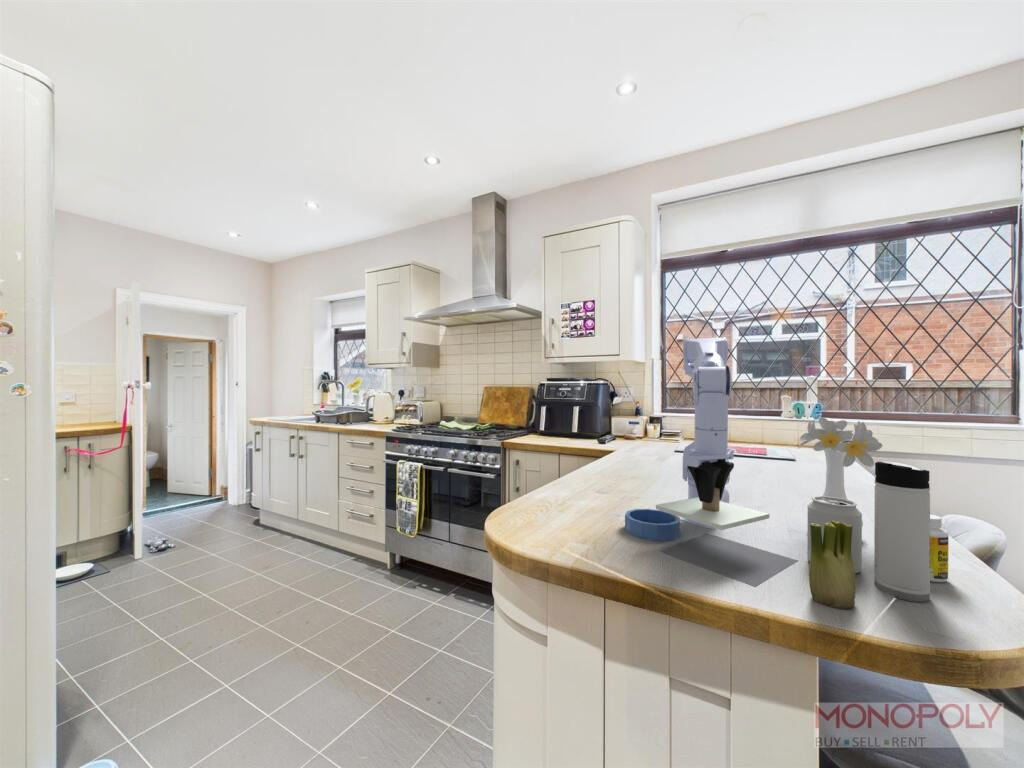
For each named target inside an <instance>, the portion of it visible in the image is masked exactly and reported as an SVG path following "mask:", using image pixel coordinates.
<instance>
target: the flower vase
mask: <svg viewBox="0 0 1024 768" xmlns="http://www.w3.org/2000/svg"><path fill="white" fill-rule="evenodd" d="M818 423H819V426H820V427H816V421H815V418H814V419H813V421H812V420H809V421H808V424H807V428H806V429H807V432H805V433H803V434H802V435H800V438H799V441H800V442H801V443H800V444H798V447H797V448H796V449H801V447H803V446H804V445H807V444H808V443H810V442H812V441H814V440H819V441H817V442H816V443H815V444H814V445H813V450H814V452H815V451H816V452H822V451H823V452H824V455H825V461H826V475H825V477H826V478H825V488H824V492H823V495H822V496H827V497H836V498H842V499H846V500H849V499H848V496H847V492H846V488H845V487H846V486H845V468H848V467H850V466H852V465H853V464H855V461H856V460H858V461H859V462H860V463H861V464H862V465H864V466H866V467H873V466H875V461H874V458H873V457H872V456H871V454H873V455H875V456H876V458H879V457H880V455H879V453H878V451H879V450H880V449H882V448H883V443H881V442H879V440H878V439H877V438H876V437H874V436H873V430H871V429H868V428H867V426H866V423H865V422H864V421H862V422H860V421H859V420H857V423H854V424H853V427H854V429H848V430H845V429H846V427H847V426H848V422H847V421H846V420H844V419H843V420H842V419H841V420H838V421H836V422H834V421H833V420H828V419H827V418H826V417H823V416H821V417H819V418H818ZM853 432H854V433H853ZM869 453H871V454H869ZM863 526H864V521H863V519H862V528H863Z"/></svg>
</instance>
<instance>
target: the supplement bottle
mask: <svg viewBox="0 0 1024 768" xmlns="http://www.w3.org/2000/svg"><path fill="white" fill-rule="evenodd" d="M948 580H949V532H948V531H947V530H946V529H944V528H943V522H942V517H941V516H940V515H939V516H938V515H935V514H931V513H930V581H931V582H930V583H945V582H947V581H948Z"/></svg>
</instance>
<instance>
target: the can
mask: <svg viewBox="0 0 1024 768" xmlns="http://www.w3.org/2000/svg"><path fill="white" fill-rule="evenodd" d="M811 500H812V501H811V502H810V503H809V504H807V540H806V541H807V548H806V549H807V552H806V553H807V555H806V556H807V560H808V561H809V562H810V558H811V530H810V524H811V523H816V524H819V525H821V534H822V545H823V535H824V526H825V523H831V521H837V522H840V524H841V523H846V524H849V525H852V526H853V528H852V539H851V556H852V561H853V566H854V571H855V575H856V574H858V573H860V572H862V569H863V562H862V561H863V558H862V557H863V549H862V548H863V547H862V545H863V543H862V542H863V539H862V538H863V535H862V534H863V527H862V520H863V513H862V512H861V511H860V510H859V509H858V508H857V506H858V504H857V502H854V501H853V500H850V499H848V500H846V499H842V498H836V497H827V496H823V495H820V496H819V495H817V496H813V497H812V498H811ZM831 524H832V523H831Z"/></svg>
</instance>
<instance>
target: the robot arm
mask: <svg viewBox="0 0 1024 768" xmlns="http://www.w3.org/2000/svg"><path fill="white" fill-rule="evenodd" d="M682 343H683V345H682V347H683V349H682V351H683V352H682V353H683V354H682V356H683V358H682V360H683V370H684V374H685V375H686V376H688V377H690V378H691V379H692V394H693V404H694V441H693V442H691V443H689V444H688V445H686V446H684V449H683V450H682V453H683V456H682V480H683V481H684V482H687V491H688V492H687V493H688V495H687V499H691V498H697V497H699V500H700V501H702V502H706V503H712V501H713V497H714V488H715V487H716V488H719V489H720V501H721V502H725V503H729V504H730V493H729V490H728V488H727V487H726V485H728V484H729V482H730V480H731V479H730V477H731V472H732V471H733V469H734V467H735V463H734V462H731V461H730V460H734V454H735V453H734V449H731V448H729V446H728V445H729V443H728V442H729V441H728V440H729V437H728V436H729V435H728V434H729V432H728V431H729V422H728V421H729V420H728V419H729V397H730V395H731V392H732V382H733V380H732V372H731V367H730V365H727V364H728V363H727V362H728V357H729V340H728V338H726V337H725V336H722V337H707V338H706V337H701V338H700V337H699V338H688V337H685V338H684V340H683V341H682ZM681 521H682V522H685V523H689V524H693V525H696V526H699V527H702V528H705V529H710V530H715V529H717V528H714V527H710V526H707V525H704V524H701V523H698V522H695V521H692V520H689V519H686V518H682V517H681V518H680V522H681Z"/></svg>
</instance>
